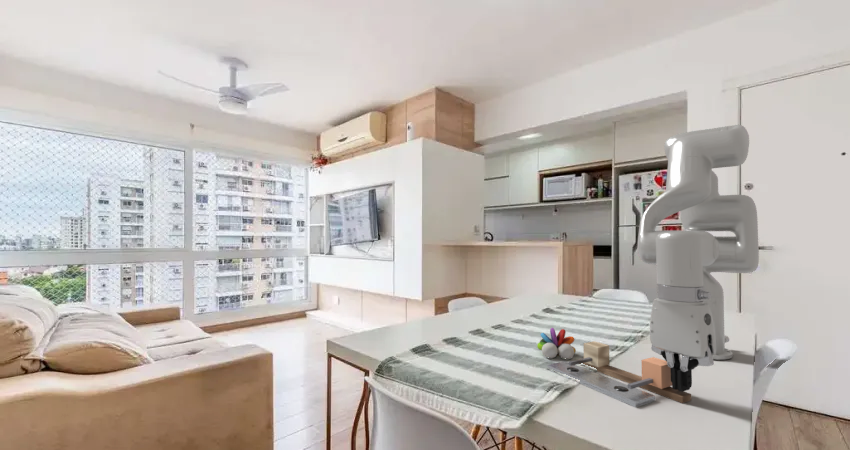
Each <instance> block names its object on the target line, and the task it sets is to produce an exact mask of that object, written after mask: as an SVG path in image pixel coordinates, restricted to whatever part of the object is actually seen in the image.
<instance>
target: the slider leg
mask: <svg viewBox="0 0 850 450" xmlns="http://www.w3.org/2000/svg"><path fill="white" fill-rule="evenodd" d="M641 377H642V380H641V381H637V382H634V383H627V385H628V388H629V389H633V388H637V389H638V388H640V386H644V385H647V384H649V385H652V386H655V387H658V388H660V389H663V388H666V387H669V386H670V387H672V382H671V368H670V367H669V366H668V365H667V361H666V360H665V359H661V358H657V357H654V356H651V357H648V358H644V359H641Z"/></svg>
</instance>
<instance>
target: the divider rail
mask: <svg viewBox="0 0 850 450" xmlns="http://www.w3.org/2000/svg"><path fill="white" fill-rule="evenodd" d="M567 362H568V365H570V366H572V365H577V366H578V365H579V364H581V363H583V364H585V365H588V366H591V367H594V368H596V369H597V371H596V372H597V373H601V374H603V375H606V376H607V377H608V376H609V377H610V378H614V379H617V380H619V381H622V382H625V383H627V384H630V383H634V382H637V381H641V380H642V375H638V374H636V373H633V372H629V371H627V370H623V369H621V368H619V367H616V366H612V365H610V345H609V344H605V343H603V342H598V341H596V340H594V341H590V342H588V341H587V342H584V343H583V357H582V358H579V359H575V360H569V361H567ZM639 388H641V389H643V390H646V391H649V392H652V393H654V394H656V395H659V396H662V397H664V398H667V399H669V400H673V401H676V402H677V403H681V404H685V403H687V402H690V401H692V393H690V392H687V391H683V392H681V391H678V390H675V389H673V388H672V386H669V387H666V388H663V389H660V388H658V387H655V386H652V385H649V384H647V385H644V386H640V387H639Z"/></svg>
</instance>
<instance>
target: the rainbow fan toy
mask: <svg viewBox="0 0 850 450" xmlns="http://www.w3.org/2000/svg"><path fill="white" fill-rule="evenodd" d="M549 333H550V337H549V336H548V335H547V334H546V333H544V332H541V333H540V337H541V339H540V340H539V342H538V343H537V344H536V345H537V349H538V350H540V351H541V353H542V355H543V356H544V357H545V358H547V357H549V358H548V359H550V358H551V359H554V358H556V357H557V355H558V356H559V357H560V358H561V357H562V358H561V359H563V358H566V359H565V360H571V359H573V358H574V356H575V353H576V351H577V350H576V348H575V347H574V346H572V344H573V343H574V341H575V337H574V336H566V330H565V328H561V329H560V330H559V332H558V333H556V330H555V328H554V327H551V328H550V329H549ZM565 336H566V337H565ZM570 358H571V359H570Z"/></svg>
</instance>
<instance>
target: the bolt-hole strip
mask: <svg viewBox="0 0 850 450" xmlns="http://www.w3.org/2000/svg"><path fill="white" fill-rule="evenodd" d="M568 362H569V361H565V360H563V361H560V362H559V361H558V362H555V363H549V364H546V368H547V367H548V368H550V369H553V370H555V371H558V372H560V373H563V374H566V375H568V376H570V377H573V378H575V379H578V380H580V383H579V384H580V385H582V386H585V387H588V388H589V389H592V390H595V391H597V392H598V393H600V394H601V393H602V394H604V395H606V396H609V397H611V398H613V399H616V400H617V401H620V402H623V403H624V404H627V405H629V406H631V407H634V408H638V407H642V406H645V405H647V404H650V403H653V402H656V395H655V394H652V393H649V392H647V391H644V390H642V389H639V388H638V387H637V388H633V389H629V388H628V384H626V383H623V382H620V381H618V380H615V379H613V378H612V377H608V376H605V375H604V374H603V375H602V374H600V373H599V372H596V371H595V372H594V371H593V370H591V369H590V370H589V369H588V368H584V367H583V366H582V367H581V366H579V365H578V364H577V365H572V366H570V365H568Z"/></svg>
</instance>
